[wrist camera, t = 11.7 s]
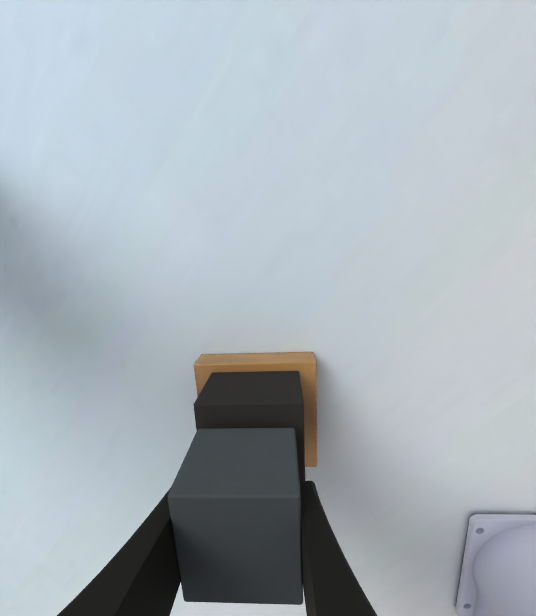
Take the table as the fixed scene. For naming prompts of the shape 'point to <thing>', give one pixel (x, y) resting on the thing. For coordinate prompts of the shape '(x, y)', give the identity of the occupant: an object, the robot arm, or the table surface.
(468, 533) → the robot arm
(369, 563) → the table surface
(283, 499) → the slate block
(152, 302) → the table surface
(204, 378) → the cork pad
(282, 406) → the black block
